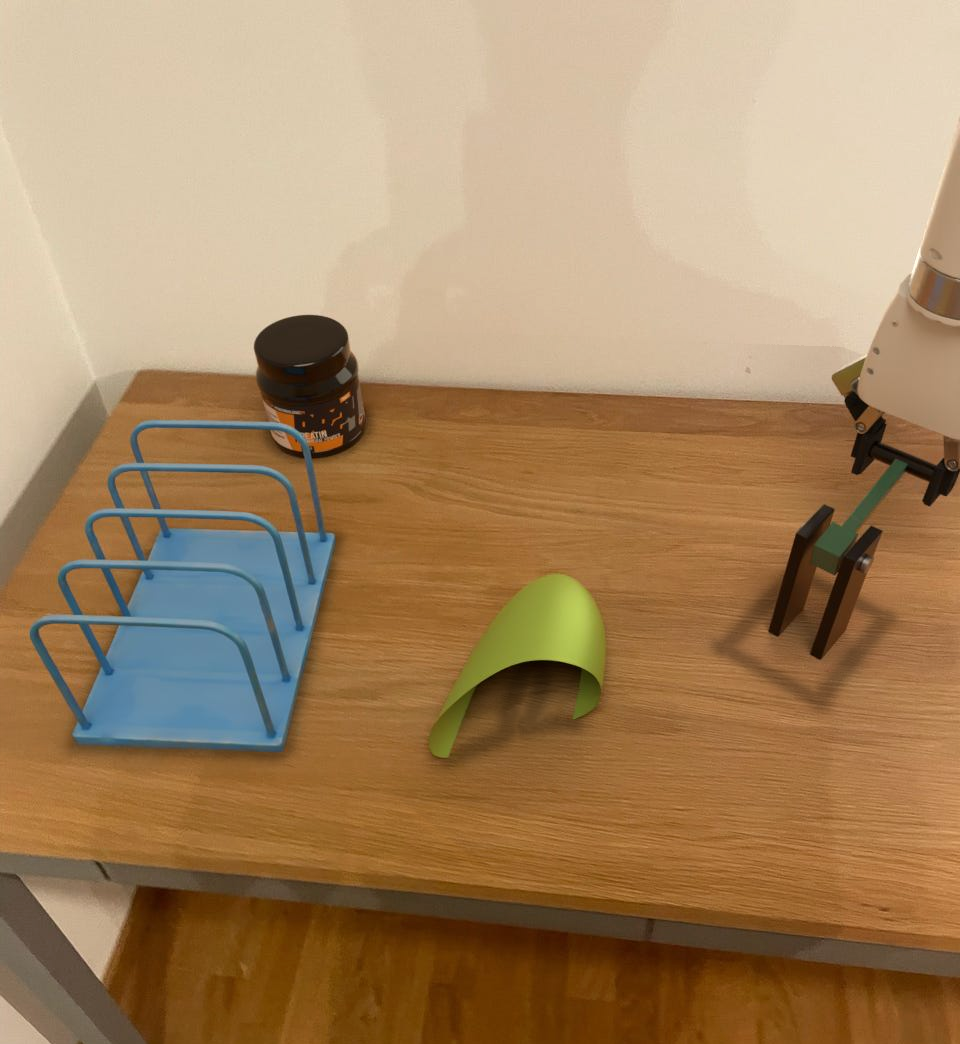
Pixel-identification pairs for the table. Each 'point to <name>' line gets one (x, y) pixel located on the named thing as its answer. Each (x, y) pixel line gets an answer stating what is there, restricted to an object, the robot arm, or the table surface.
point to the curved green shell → (532, 648)
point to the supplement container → (310, 384)
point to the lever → (867, 505)
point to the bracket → (843, 589)
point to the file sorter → (201, 620)
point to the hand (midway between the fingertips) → (898, 479)
